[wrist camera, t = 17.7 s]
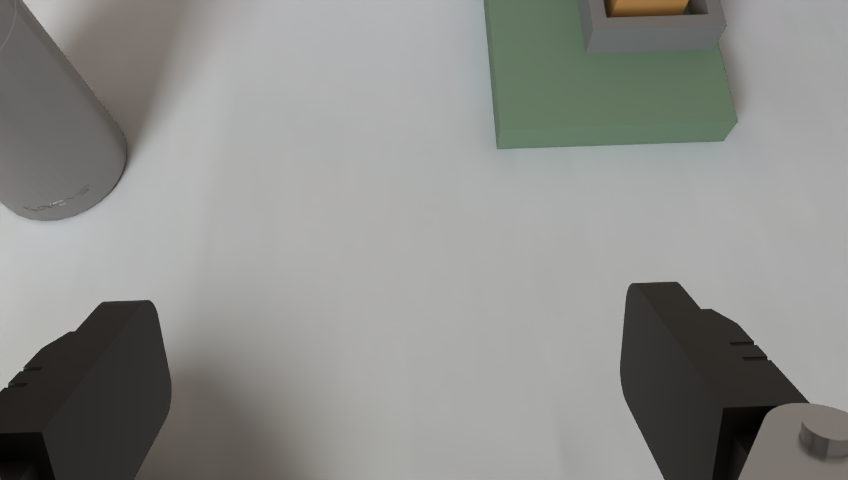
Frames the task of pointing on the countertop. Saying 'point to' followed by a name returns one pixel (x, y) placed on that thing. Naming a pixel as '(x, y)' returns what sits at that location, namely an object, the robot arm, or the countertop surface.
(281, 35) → the countertop surface
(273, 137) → the countertop surface
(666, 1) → the chute block
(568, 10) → the green base plate
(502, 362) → the countertop surface
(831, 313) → the countertop surface
